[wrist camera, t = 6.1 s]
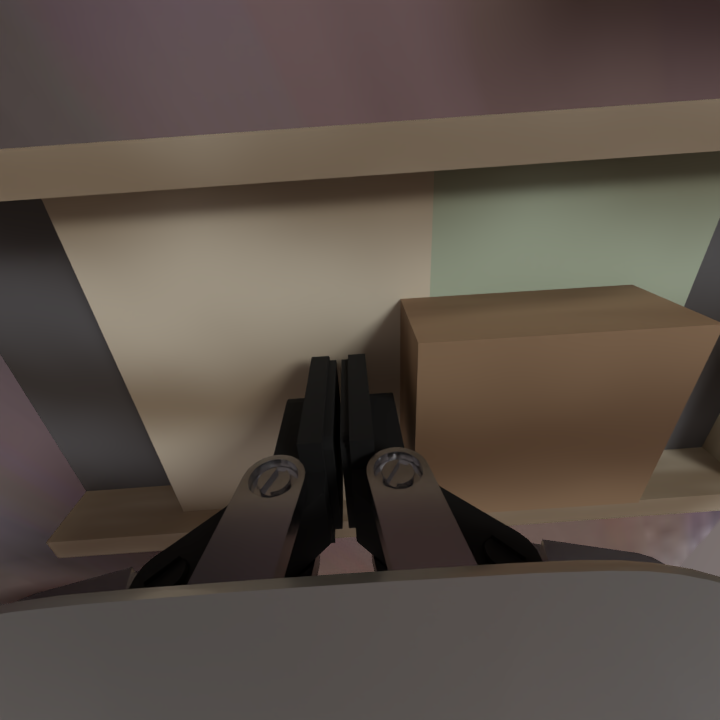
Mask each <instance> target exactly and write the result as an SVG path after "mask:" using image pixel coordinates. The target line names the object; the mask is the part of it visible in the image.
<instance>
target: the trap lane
mask: <svg viewBox="0 0 720 720" xmlns="http://www.w3.org/2000/svg"><path fill="white" fill-rule="evenodd" d="M617 285H635V286H637V287H639V288H642V289H644V290H646V291H649V292H651V293H653V294H656V295H658V296H660V297H663V298H665V299H667V300H670V301H672V302H674V303H676V304H679V305H681V306H683V307H686V308H688V309H690V310H693V311H695V312H697V313H700V314H702V315H704V316H707V317H709V318H711V319H714V320H716V321H718V322H720V99H708V100H694V101H680V102H665V103H651V104H637V105H623V106H608V107H594V108H580V109H565V110H551V111H537V112H523V113H508V114H494V115H480V116H466V117H451V118H437V119H423V120H408V121H394V122H380V123H366V124H351V125H337V126H323V127H309V128H294V129H280V130H266V131H252V132H237V133H223V134H209V135H194V136H180V137H166V138H152V139H137V140H123V141H109V142H95V143H80V144H66V145H52V146H37V147H23V148H9V149H0V354H1V356H2V357H3V359H4V361H5V362H6V364H7V365H8V367H9V369H10V370H11V372H12V373H13V375H14V377H15V378H16V380H17V381H18V383H19V385H20V386H21V388H22V389H23V391H24V393H25V394H26V396H27V397H28V399H29V400H30V402H31V404H32V405H33V407H34V408H35V410H36V412H37V413H38V415H39V416H40V418H41V420H42V421H43V423H44V424H45V426H46V428H47V429H48V431H49V432H50V434H51V436H52V437H53V439H54V440H55V442H56V444H57V445H58V447H59V448H60V450H61V452H62V453H63V455H64V456H65V458H66V459H67V461H68V463H69V464H70V466H71V467H72V469H73V471H74V472H75V474H76V475H77V477H78V479H79V480H80V482H81V483H82V485H83V487H84V488H85V490H86V493H85V494H84V495H83V496H82V498H81V499H80V500H79V502H78V503H77V504H76V505H75V507H74V508H73V509H72V510H71V512H70V513H69V514H68V516H67V517H66V518H65V519H64V521H63V522H62V523H61V524H60V526H59V527H58V528H57V530H56V531H55V532H54V533H53V535H52V536H51V537H50V539H49V540H48V541H47V542H46V543H47V544H48V546H49V547H50V548H51V550H52V551H53V552H54V553H55V555H56V556H57V557H58V558H66V557H80V556H94V555H108V554H122V553H136V552H150V551H163V550H165V549H166V548H168V547H169V546H170V545H172V544H173V543H175V542H176V541H178V540H179V539H180V538H182V537H183V536H185V535H186V534H188V533H189V532H190V531H192V530H193V529H195V528H196V527H198V526H199V525H200V524H202V523H203V522H205V521H206V520H208V519H209V518H210V517H212V516H213V515H215V514H216V513H218V512H219V511H220V510H222V509H223V508H225V507H226V506H227V505H228V504H229V502H230V500H231V499H232V497H233V495H234V493H235V491H236V489H237V487H238V485H239V483H240V481H241V479H242V477H243V475H244V474H245V473H246V471H247V470H248V469H249V468H250V467H251V466H252V465H253V464H255V463H256V462H258V461H260V460H262V459H263V458H266V457H270V456H273V455H274V451H275V447H276V443H277V439H278V435H279V431H280V427H281V423H282V419H283V414H284V410H285V406H286V403H287V400H288V399H297V398H305V392H306V386H307V381H308V375H309V369H310V363H311V358H312V357H320V356H329V357H330V360H336V362H337V371H338V381H339V392H340V402H341V360H344V359H348V355H352V354H365V358H366V368H367V377H368V387H369V394H374V393H390V392H392V393H393V396H394V400H395V405H396V410H397V414H398V419H399V424H400V299H406V298H423V297H439V296H455V295H471V294H487V293H503V292H520V291H536V290H552V289H568V288H585V287H601V286H617ZM719 510H720V335H719V337H718V339H717V341H716V343H715V345H714V347H713V349H712V352H711V354H710V356H709V358H708V360H707V362H706V364H705V366H704V368H703V370H702V372H701V374H700V376H699V378H698V380H697V383H696V385H695V387H694V389H693V391H692V393H691V395H690V397H689V399H688V401H687V403H686V405H685V407H684V409H683V411H682V414H681V416H680V418H679V420H678V422H677V424H676V426H675V428H674V430H673V432H672V434H671V436H670V438H669V440H668V442H667V445H666V447H665V449H664V451H663V453H662V455H661V457H660V459H659V461H658V463H657V465H656V467H655V469H654V471H653V473H652V476H651V478H650V480H649V482H648V484H647V486H646V488H645V490H644V492H643V494H642V496H641V498H640V500H639V502H638V503H625V504H610V505H595V506H580V507H565V508H550V509H535V510H520V511H505V512H489V513H486V514H488V515H490V516H492V517H493V518H495V519H497V520H498V521H500V522H502V523H503V524H505V525H507V526H510V525H524V524H538V523H552V522H566V521H580V520H594V519H608V518H621V517H635V516H649V515H663V514H677V513H691V512H705V511H719ZM344 537H356V528H349V525H348V515H347V505H346V496H345V486H344V477H343V529H335V538H344Z"/></svg>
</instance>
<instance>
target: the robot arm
mask: <svg viewBox="0 0 720 720" xmlns="http://www.w3.org/2000/svg"><path fill="white" fill-rule="evenodd" d="M343 477H344V486H345V496H346V505H347V515H348V525H349V528H356V538H357V542H358V543H360V544H361V545H362V546H363V547H364V548H365V549H367V550H368V551H369V552H370V553H371V554H372V563H373V567H374V572H364V573H349V574H334V575H319V576H317V575H318V571H319V566H320V553H321V552H322V551H323V550H325V549H326V548H327V547H328V546H329V545H330V544H331V543H335V529H343ZM0 720H720V577H718V576H715V575H711V574H708V573H704V572H700V571H696V570H693V569H688V568H682V567H676V566H670V565H665V564H663V563H662V562H660V561H658V560H656V559H654V558H652V557H649V556H646V555H642V554H639V553H633V552H626V551H619V550H612V549H605V548H598V547H591V546H585V545H578V544H571V543H564V542H557V541H550V540H543V539H542V543H541V544H534V543H531V542H530V541H529V540H528V539H527V538H525V537H524V536H523V535H521V534H520V533H519V532H517V531H515V530H514V529H512V528H510V527H509V526H507V525H505V524H503V523H502V522H500V521H498V520H497V519H495V518H493V517H492V516H490V515H488V514H486V513H485V512H483V511H481V510H480V509H478V508H476V507H475V506H473V505H471V504H469V503H468V502H466V501H464V500H463V499H461V498H459V497H458V496H456V495H454V494H452V493H451V492H449V491H447V490H446V489H444V488H442V487H441V486H439V485H438V483H437V481H436V479H435V477H434V475H433V473H432V470H431V468H430V466H429V464H428V463H427V461H426V460H425V459H424V457H423V456H421V455H420V454H419V453H417V452H415V451H413V450H410V449H407V448H404V443H403V438H402V434H401V429H400V424H399V419H398V414H397V410H396V405H395V400H394V396H393V393H392V392H390V393H374V394H369V387H368V377H367V368H366V358H365V354H352V355H348V359H344V360H341V402H340V392H339V381H338V371H337V362H336V360H330V357H329V356H320V357H312V358H311V363H310V369H309V375H308V381H307V386H306V392H305V398H297V399H288V400H287V403H286V406H285V410H284V414H283V419H282V423H281V427H280V431H279V435H278V439H277V443H276V447H275V451H274V455H273V456H270V457H266V458H263V459H262V460H260V461H258V462H256V463H255V464H253V465H252V466H251V467H250V468H249V469H248V470H247V471H246V473H245V474H244V475H243V477H242V479H241V481H240V483H239V485H238V487H237V489H236V491H235V493H234V495H233V497H232V499H231V500H230V502H229V504H228V505H227V506H226V507H225V508H223V509H222V510H220V511H219V512H218V513H216V514H215V515H213V516H212V517H210V518H209V519H208V520H206V521H205V522H203V523H202V524H200V525H199V526H198V527H196V528H195V529H193V530H192V531H190V532H189V533H188V534H186V535H185V536H183V537H182V538H180V539H179V540H178V541H176V542H175V543H173V544H172V545H170V546H169V547H168V548H166V549H165V550H163V551H162V552H160V553H159V554H158V555H156V556H155V557H154V558H152V559H151V560H150V561H149V562H148V563H146V564H145V565H144V566H143V567H142V569H141V570H140V571H136V572H135V571H134V570H133V568H132V567H130V568H127V569H123V570H120V571H116V572H112V573H109V574H105V575H102V576H98V577H94V578H91V579H87V580H83V581H80V582H76V583H73V584H69V585H65V586H62V587H58V588H55V589H51V590H47V591H44V592H40V593H36V594H33V595H31V596H28V597H26V598H24V599H21V600H19V601H17V602H13V603H8V604H3V605H0Z"/></svg>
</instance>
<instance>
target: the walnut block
mask: <svg viewBox="0 0 720 720" xmlns="http://www.w3.org/2000/svg"><path fill="white" fill-rule="evenodd" d="M719 335H720V322H718V321H716V320H714V319H711V318H709V317H707V316H704V315H702V314H700V313H697V312H695V311H693V310H690V309H688V308H686V307H683V306H681V305H679V304H676V303H674V302H672V301H670V300H667V299H665V298H663V297H660V296H658V295H656V294H653V293H651V292H649V291H646V290H644V289H642V288H639V287H637V286H635V285H617V286H601V287H585V288H568V289H552V290H536V291H520V292H503V293H487V294H471V295H455V296H439V297H423V298H406V299H400V429H401V434H402V438H403V443H404V448H407V449H410V450H413V451H415V452H417V453H419V454H420V455H421V456H423V457H424V459H425V460H426V461H427V463H428V464H429V466H430V468H431V470H432V473H433V475H434V477H435V479H436V481H437V483H438V485H439V486H441V487H442V488H444V489H446V490H447V491H449V492H451V493H452V494H454V495H456V496H458V497H459V498H461V499H463V500H464V501H466V502H468V503H469V504H471V505H473V506H475V507H476V508H478V509H480V510H481V511H483V512H485V513H489V512H505V511H520V510H535V509H550V508H565V507H580V506H595V505H610V504H625V503H638V502H639V500H640V498H641V496H642V494H643V492H644V490H645V488H646V486H647V484H648V482H649V480H650V478H651V476H652V473H653V471H654V469H655V467H656V465H657V463H658V461H659V459H660V457H661V455H662V453H663V451H664V449H665V447H666V445H667V442H668V440H669V438H670V436H671V434H672V432H673V430H674V428H675V426H676V424H677V422H678V420H679V418H680V416H681V414H682V411H683V409H684V407H685V405H686V403H687V401H688V399H689V397H690V395H691V393H692V391H693V389H694V387H695V385H696V383H697V380H698V378H699V376H700V374H701V372H702V370H703V368H704V366H705V364H706V362H707V360H708V358H709V356H710V354H711V352H712V349H713V347H714V345H715V343H716V341H717V339H718V337H719Z"/></svg>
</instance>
